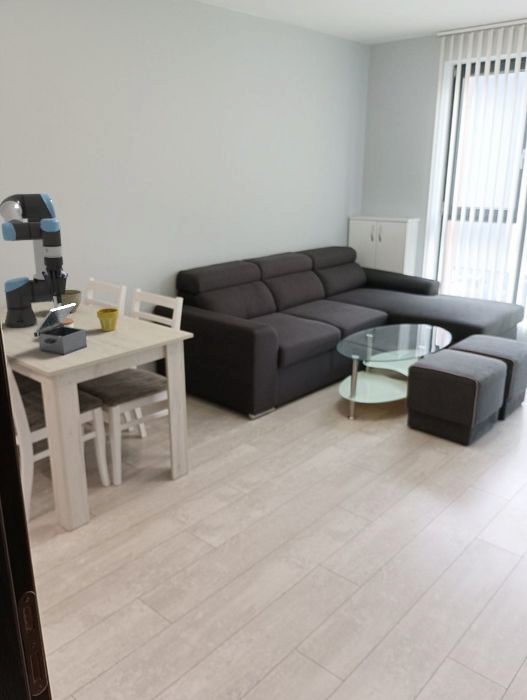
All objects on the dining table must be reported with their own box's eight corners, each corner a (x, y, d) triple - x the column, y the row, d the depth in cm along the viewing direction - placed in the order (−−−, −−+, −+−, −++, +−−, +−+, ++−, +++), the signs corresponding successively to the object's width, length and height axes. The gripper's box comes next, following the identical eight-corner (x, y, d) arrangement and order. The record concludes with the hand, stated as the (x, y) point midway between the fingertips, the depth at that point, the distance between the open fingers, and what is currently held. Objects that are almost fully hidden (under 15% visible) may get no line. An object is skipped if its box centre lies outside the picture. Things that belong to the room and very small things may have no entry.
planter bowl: (77, 315, 315) (76, 295, 311) (48, 314, 315) (46, 295, 312) (86, 308, 330) (85, 289, 327) (58, 307, 330) (57, 289, 327)
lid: (36, 334, 251) (33, 329, 251) (60, 326, 263) (57, 322, 263) (52, 312, 243) (48, 307, 243) (76, 305, 255) (72, 300, 255)
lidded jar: (61, 340, 268) (59, 321, 265) (46, 337, 273) (44, 317, 270) (79, 335, 277) (77, 316, 274) (64, 332, 282) (62, 313, 279)
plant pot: (114, 332, 282) (112, 313, 279) (94, 331, 284) (93, 312, 281) (123, 327, 292) (121, 308, 289) (104, 326, 293) (102, 307, 291)
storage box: (34, 351, 252) (32, 332, 249) (63, 341, 267) (62, 323, 264) (61, 356, 246) (59, 337, 243) (89, 345, 260) (87, 328, 258)
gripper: (35, 256, 243) (40, 310, 250) (58, 258, 238) (63, 314, 245) (48, 253, 250) (53, 306, 257) (71, 256, 244) (75, 310, 252)
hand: (58, 310), depth 251 cm, fingers closed
